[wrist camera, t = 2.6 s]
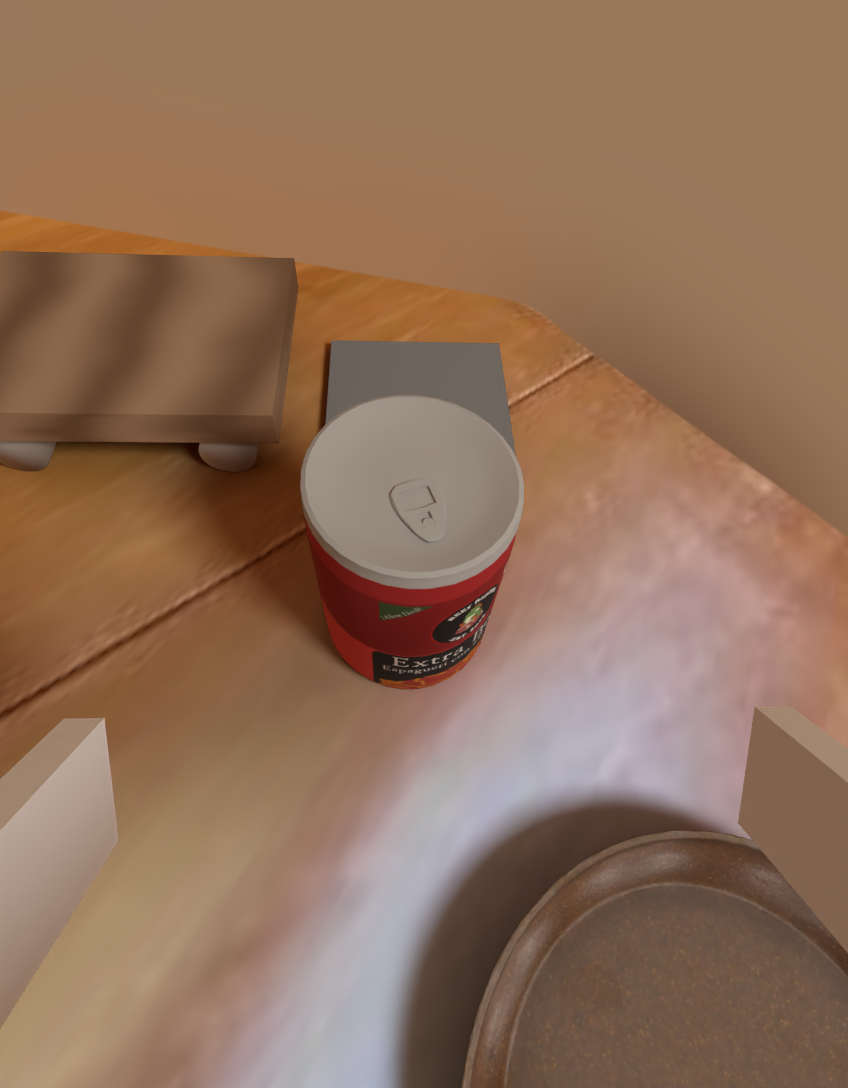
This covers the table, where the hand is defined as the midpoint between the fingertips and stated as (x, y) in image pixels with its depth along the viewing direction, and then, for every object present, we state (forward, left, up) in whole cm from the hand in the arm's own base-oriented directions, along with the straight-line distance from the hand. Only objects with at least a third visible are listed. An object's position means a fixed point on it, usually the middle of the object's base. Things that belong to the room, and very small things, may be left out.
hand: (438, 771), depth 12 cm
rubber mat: (+1, +24, -14) cm, 28 cm away
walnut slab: (-15, +25, -14) cm, 33 cm away
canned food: (0, +10, -14) cm, 18 cm away
